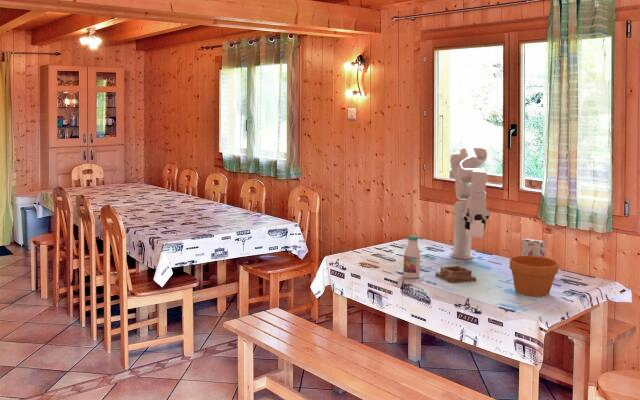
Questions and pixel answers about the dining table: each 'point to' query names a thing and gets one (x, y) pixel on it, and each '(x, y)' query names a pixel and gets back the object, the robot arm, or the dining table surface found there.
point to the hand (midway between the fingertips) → (475, 228)
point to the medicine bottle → (476, 227)
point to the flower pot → (533, 274)
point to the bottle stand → (455, 274)
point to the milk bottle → (411, 258)
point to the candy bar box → (533, 247)
